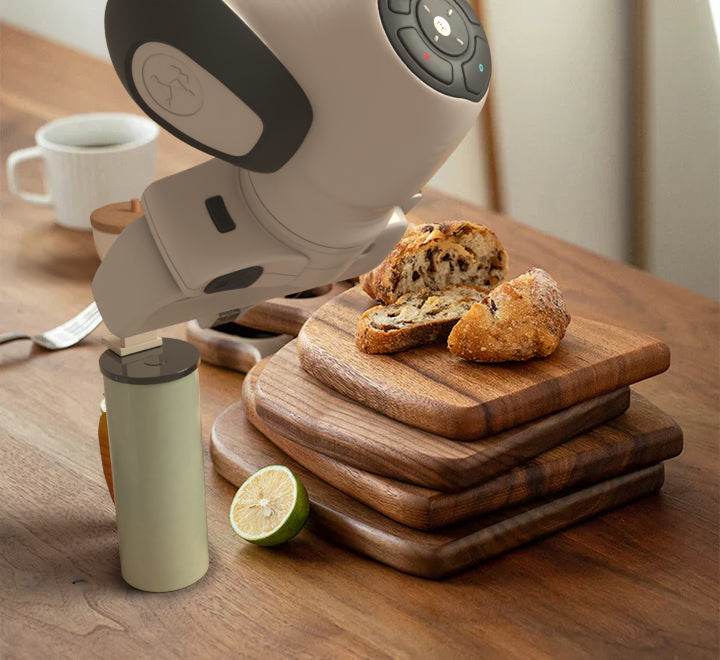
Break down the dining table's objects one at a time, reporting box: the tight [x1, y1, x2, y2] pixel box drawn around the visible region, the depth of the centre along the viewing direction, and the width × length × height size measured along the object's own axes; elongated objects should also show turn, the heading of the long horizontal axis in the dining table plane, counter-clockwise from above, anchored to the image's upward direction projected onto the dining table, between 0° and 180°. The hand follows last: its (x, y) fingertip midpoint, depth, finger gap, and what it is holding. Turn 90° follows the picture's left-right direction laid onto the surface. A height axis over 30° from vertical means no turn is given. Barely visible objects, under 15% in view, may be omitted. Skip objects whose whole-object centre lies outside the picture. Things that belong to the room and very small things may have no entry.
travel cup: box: [98, 336, 210, 593], centre depth 85 cm, size 8×8×19 cm
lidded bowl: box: [89, 197, 144, 263], centre depth 153 cm, size 13×13×11 cm
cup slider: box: [100, 329, 162, 356], centre depth 83 cm, size 4×3×2 cm
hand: (215, 315), depth 72 cm, fingers closed
